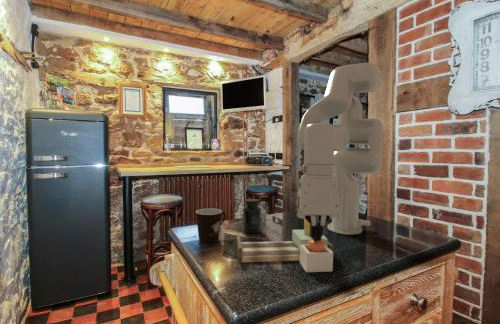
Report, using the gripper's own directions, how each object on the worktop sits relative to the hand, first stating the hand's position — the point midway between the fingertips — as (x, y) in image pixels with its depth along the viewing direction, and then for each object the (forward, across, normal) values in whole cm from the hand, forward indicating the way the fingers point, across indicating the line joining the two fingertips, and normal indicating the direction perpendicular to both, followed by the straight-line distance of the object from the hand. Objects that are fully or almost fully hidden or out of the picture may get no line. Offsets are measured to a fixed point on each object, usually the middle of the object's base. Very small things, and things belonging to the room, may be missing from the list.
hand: (316, 239), depth 73 cm
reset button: (+4, 0, 0) cm, 4 cm away
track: (+8, -7, +9) cm, 14 cm away
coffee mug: (+8, -28, +22) cm, 36 cm away
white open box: (+8, 0, 0) cm, 8 cm away
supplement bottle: (+8, -14, +30) cm, 34 cm away
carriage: (+5, +1, +9) cm, 10 cm away
